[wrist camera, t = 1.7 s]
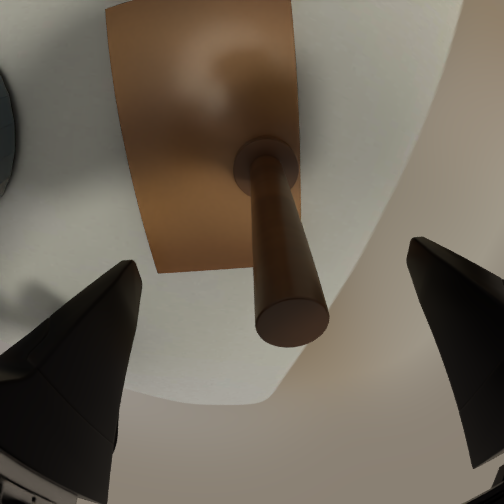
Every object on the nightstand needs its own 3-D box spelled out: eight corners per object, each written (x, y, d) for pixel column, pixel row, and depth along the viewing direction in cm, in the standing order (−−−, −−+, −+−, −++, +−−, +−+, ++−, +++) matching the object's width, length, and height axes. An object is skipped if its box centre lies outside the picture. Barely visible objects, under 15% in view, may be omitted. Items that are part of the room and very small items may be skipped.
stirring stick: (297, 193, 18) (353, 359, 8) (236, 197, 18) (227, 371, 8) (295, 134, 16) (376, 257, 6) (230, 138, 16) (204, 271, 6)
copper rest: (298, 255, 22) (300, 263, 21) (160, 265, 22) (157, 273, 21) (286, -17, 12) (288, -21, 11) (111, 11, 12) (104, 8, 11)
